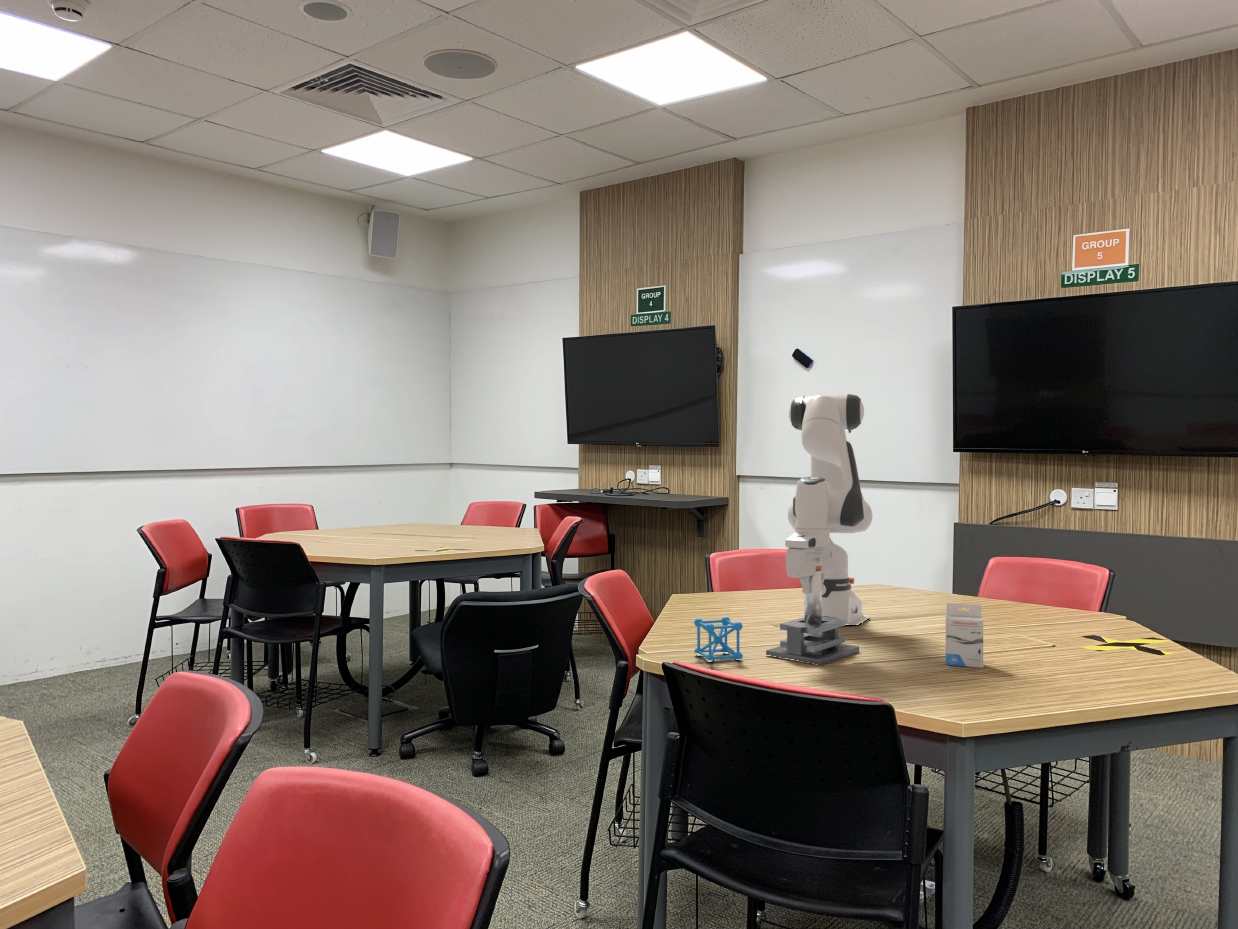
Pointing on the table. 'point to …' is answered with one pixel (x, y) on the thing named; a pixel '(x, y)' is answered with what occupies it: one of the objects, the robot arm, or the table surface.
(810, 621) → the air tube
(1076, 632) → the table surface
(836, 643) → the collar stand
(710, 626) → the molecular structure
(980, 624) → the ink box
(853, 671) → the table surface
